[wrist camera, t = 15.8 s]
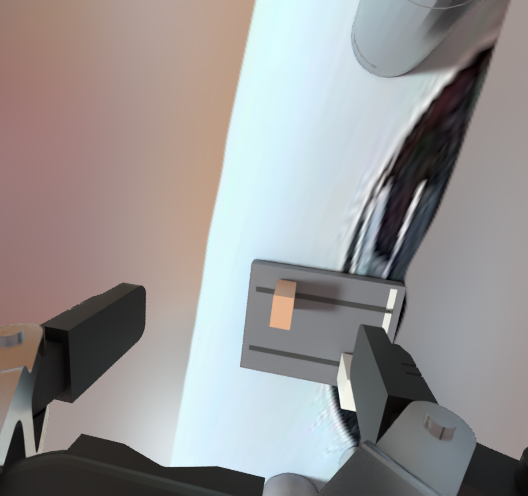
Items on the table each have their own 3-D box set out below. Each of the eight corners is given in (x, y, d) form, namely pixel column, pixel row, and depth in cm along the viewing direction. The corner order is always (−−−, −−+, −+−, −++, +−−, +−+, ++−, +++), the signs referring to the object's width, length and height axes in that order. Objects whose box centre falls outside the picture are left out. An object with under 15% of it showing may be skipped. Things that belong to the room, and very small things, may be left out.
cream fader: (336, 378, 41) (341, 408, 36) (342, 353, 40) (347, 379, 35) (354, 381, 41) (361, 412, 35) (360, 356, 40) (368, 383, 35)
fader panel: (242, 359, 45) (239, 367, 43) (254, 259, 42) (251, 263, 40) (376, 385, 43) (380, 395, 41) (401, 282, 39) (406, 287, 37)
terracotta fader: (274, 306, 40) (269, 326, 35) (278, 279, 39) (273, 295, 34) (292, 309, 40) (289, 330, 34) (296, 282, 39) (294, 298, 34)
